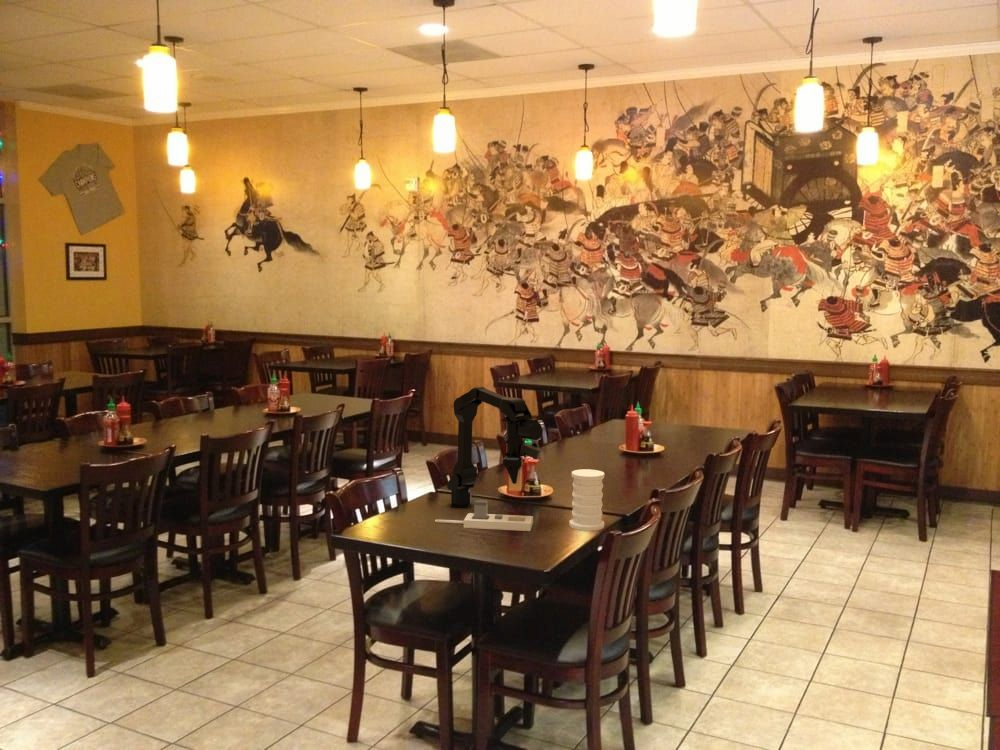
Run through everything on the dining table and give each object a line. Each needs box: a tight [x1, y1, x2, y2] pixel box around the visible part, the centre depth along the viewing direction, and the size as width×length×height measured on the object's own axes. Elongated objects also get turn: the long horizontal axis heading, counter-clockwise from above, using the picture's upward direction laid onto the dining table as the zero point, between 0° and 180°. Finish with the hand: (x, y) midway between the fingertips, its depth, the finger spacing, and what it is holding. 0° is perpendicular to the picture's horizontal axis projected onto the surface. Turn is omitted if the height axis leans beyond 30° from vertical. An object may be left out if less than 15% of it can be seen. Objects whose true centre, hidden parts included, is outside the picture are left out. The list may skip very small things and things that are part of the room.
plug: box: [508, 465, 523, 492], centre depth 296 cm, size 4×3×8 cm
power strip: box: [434, 512, 534, 532], centre depth 293 cm, size 32×9×3 cm, turn 82°
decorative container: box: [568, 468, 605, 532], centre depth 293 cm, size 12×12×18 cm
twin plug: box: [473, 499, 489, 520], centre depth 293 cm, size 4×3×8 cm
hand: (515, 482), depth 296 cm, fingers closed on plug, 3 cm apart
